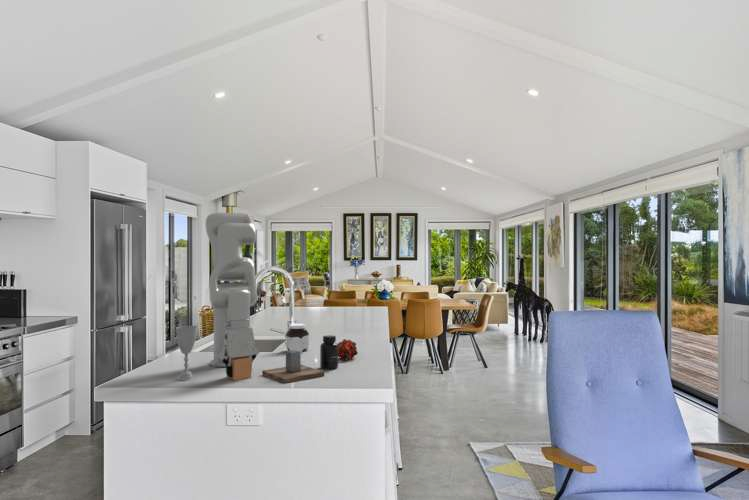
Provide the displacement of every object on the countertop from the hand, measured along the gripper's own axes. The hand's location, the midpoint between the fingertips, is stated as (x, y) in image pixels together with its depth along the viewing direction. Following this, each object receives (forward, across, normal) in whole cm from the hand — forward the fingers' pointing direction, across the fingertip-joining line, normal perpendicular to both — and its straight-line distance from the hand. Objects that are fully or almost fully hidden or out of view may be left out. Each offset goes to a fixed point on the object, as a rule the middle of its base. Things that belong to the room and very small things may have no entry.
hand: (239, 374), depth 187 cm
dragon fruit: (+1, +48, +1) cm, 48 cm away
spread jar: (+1, +41, +28) cm, 50 cm away
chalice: (+1, -15, +10) cm, 18 cm away
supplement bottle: (+1, +33, -8) cm, 34 cm away
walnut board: (+1, +16, -10) cm, 19 cm away
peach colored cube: (+1, 0, 0) cm, 1 cm away
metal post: (-1, +16, -10) cm, 19 cm away
